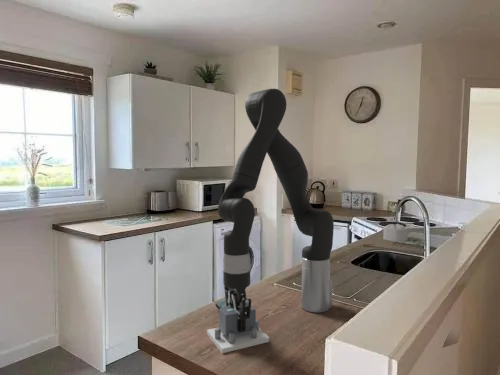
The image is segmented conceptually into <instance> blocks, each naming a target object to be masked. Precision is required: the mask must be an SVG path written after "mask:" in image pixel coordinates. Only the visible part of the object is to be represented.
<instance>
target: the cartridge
mask: <svg viewBox="0 0 500 375" xmlns="http://www.w3.org/2000/svg"><path fill="white" fill-rule="evenodd" d="M237 307H241V305H240V306H237ZM246 313H247V312H246ZM256 313H257V312H256V308H255V307H253V306H252V305H251V310H250V318H248V319H246V330H245V331H244V332H249V331H251V328H252V327H256V320H257V319H256ZM218 314H219V315H218V327H219V328H220V329H221V332H222V333H223V334H224V335H225V336H226V337H227V336H229V333H230V332H234V333H235V335H236V334H240V333H244V332H238V330H237V312H236V311H235V310H234V306H232V307H225V308H220V309H219V310H218Z"/></svg>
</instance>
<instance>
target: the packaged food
mask: <svg viewBox="0 0 500 375" xmlns="http://www.w3.org/2000/svg"><path fill="white" fill-rule="evenodd" d="M214 305H215V306H216V308H217V309H218V311H219V309H220V308H225V307H228V306H226V300H225V298H221V299H219V300H218V301H216V302H215V303H214Z"/></svg>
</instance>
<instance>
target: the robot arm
mask: <svg viewBox="0 0 500 375" xmlns="http://www.w3.org/2000/svg"><path fill="white" fill-rule="evenodd" d="M244 108H245V114H246V115H247V118H248V120H249V121H250V123H251V125H252V127H253V128H254V130H255V131H254V134H253V135H252V136H251V138H250V140H249V141H248V142H247V144H246V145H245V147H244V148H243V150H242V151H241V153H240V155H239V157H238V159H237V162H236V165H235V169H234V172H233V175H232V178H231V180H230V182H229V184H227V186H226V188H225V190H224V192H223V194H222V195H221V197H220V199H219V202H218V205H217V211H218V212H217V213H218V215H219V218H220V219H221V220H222V221H225V222H229V223H233V226H232V229H231V230H228V231H226V232H225V233H224V236H223V260H222V269H223V270H222V272H223V276H222V277H223V278H222V280H223V285H224V286H223V288H224V297H225V300H226V306H228V307H232V306H234V310H235V311H236V312H237V330H238V332H244V331H245V330H246V319H248V318H250V310H251V306H252V299H251V298H247V292H246V290H247V288H248V287H249V286H251V257H250V236H251V232H252V228H253V224H254V220H255V215H256V214H255V207H254V204H253V202H252V201H251V200H250V199H249V198H246V197H245V195H246V194H248V193H249V192H253V191H255V189H256V188H257V184H258V181H259V177H260V175H261V170H262V167H263V165H264V162H265V158H266V156H267V155H268V157H269V159H270V161H271V164H272V166H273V169H274V171H275V174H276V175H277V178H278V180H279V182H280V185H281V186H282V189H283V190H284V193H285V196H286V198H287V200H288V202H289V203H288V204H289V205H290V209H291V211H292V214H293V218H294V221H295V224H296V226H297V229H298V231H299V232H301V234H303V235H305V236H308V237H311V245H308V246H307V245H306V246H304V247H303V248H302V249H301V308H302V309H303V311H307V312H309V313H310V312H311V313H324V312H327V311H329V309H332V308H333V280H332V279H331V277H330V276H331V252H332V249H333V245H334V244H333V241H334V228H335V227H334V226H335V225H334V223H335V222H334V218H333V215H332V214H331V212H330V211H328V210H323V209H320V208H319V209H318V208H314V207H313V206H312V204H311V203H310V200H309V198H308V195H307V187H308V179H309V172H308V169H307V167H306V163H305V162H304V159H303V157H302V154H301V153H300V152H299V150H298V149H297V148H296V146H294V145H293V143H291V142H290V141H289V140H288V139H287V138H286V137H285V136H284V135H283V134H282V133H281V131H280V130H279V127H280V125H281V123H282V121H283V119H284V116H285V113H286V111H287V99H286V96H285V94H284V93H283V91H281V89H278V88H267V89H263V90H260V91H255V92H251V93H250V94H249V95H248V96H247V97H246V99H245V103H244ZM240 305H241V307H237V306H240ZM246 312H247V313H246Z"/></svg>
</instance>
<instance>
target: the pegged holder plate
mask: <svg viewBox="0 0 500 375" xmlns="http://www.w3.org/2000/svg"><path fill="white" fill-rule="evenodd" d="M206 335H207V336H208V338H210V340H211V342H212V343H213V344H214V345H215V346H216V347H217V350H219V352H220V353H221V354H225V353H228V352H232V351H237V350H241V349H245V348H249V347H253V346H258V345H262V344H265V343H270V336H268V335H267V334H266V333H265V332H264V331H263V330H262V329H261V328H260V320H258V319H256V327H252V328H251V331H249V332H244V333H240V334H236V335H235V333H234V332H230V333H229V336H227V337H226V336H225V335H224V334H223V333H222V332H221V329H220V328H219V326H218V327H214V328H209V329H206Z"/></svg>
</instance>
